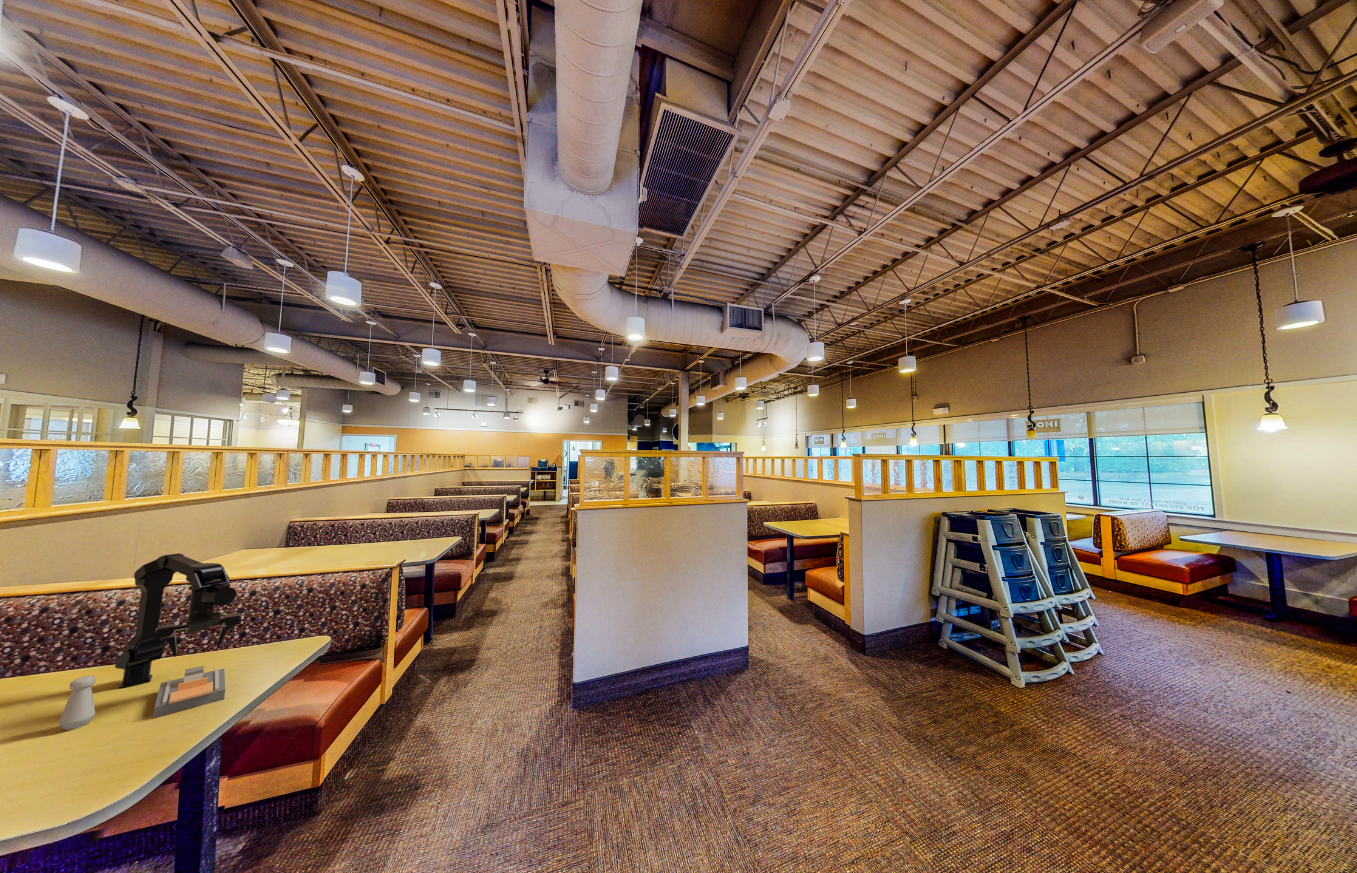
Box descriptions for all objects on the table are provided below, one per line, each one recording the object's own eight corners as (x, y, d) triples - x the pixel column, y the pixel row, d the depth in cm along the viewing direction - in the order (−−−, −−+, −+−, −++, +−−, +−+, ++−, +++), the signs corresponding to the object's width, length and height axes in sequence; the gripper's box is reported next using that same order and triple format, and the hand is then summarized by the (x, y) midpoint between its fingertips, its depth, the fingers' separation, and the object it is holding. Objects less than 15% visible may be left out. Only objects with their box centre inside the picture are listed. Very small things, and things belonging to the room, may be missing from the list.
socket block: (159, 692, 133) (161, 680, 134) (223, 677, 144) (224, 666, 144) (152, 718, 119) (154, 705, 119) (224, 699, 129) (225, 687, 130)
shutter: (170, 693, 126) (172, 685, 127) (212, 683, 133) (213, 675, 133) (168, 703, 121) (170, 694, 121) (212, 692, 127) (213, 683, 127)
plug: (181, 696, 131) (184, 673, 132) (182, 692, 134) (185, 669, 135) (200, 691, 134) (203, 669, 135) (201, 687, 137) (203, 665, 138)
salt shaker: (65, 733, 112) (73, 683, 113) (51, 731, 113) (59, 681, 114) (99, 721, 117) (106, 674, 119) (85, 719, 119) (92, 672, 120)
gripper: (155, 615, 125) (148, 668, 123) (244, 602, 139) (238, 649, 137) (159, 607, 132) (152, 658, 131) (242, 595, 146) (237, 641, 144)
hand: (196, 651), depth 135 cm, fingers open, 9 cm apart
